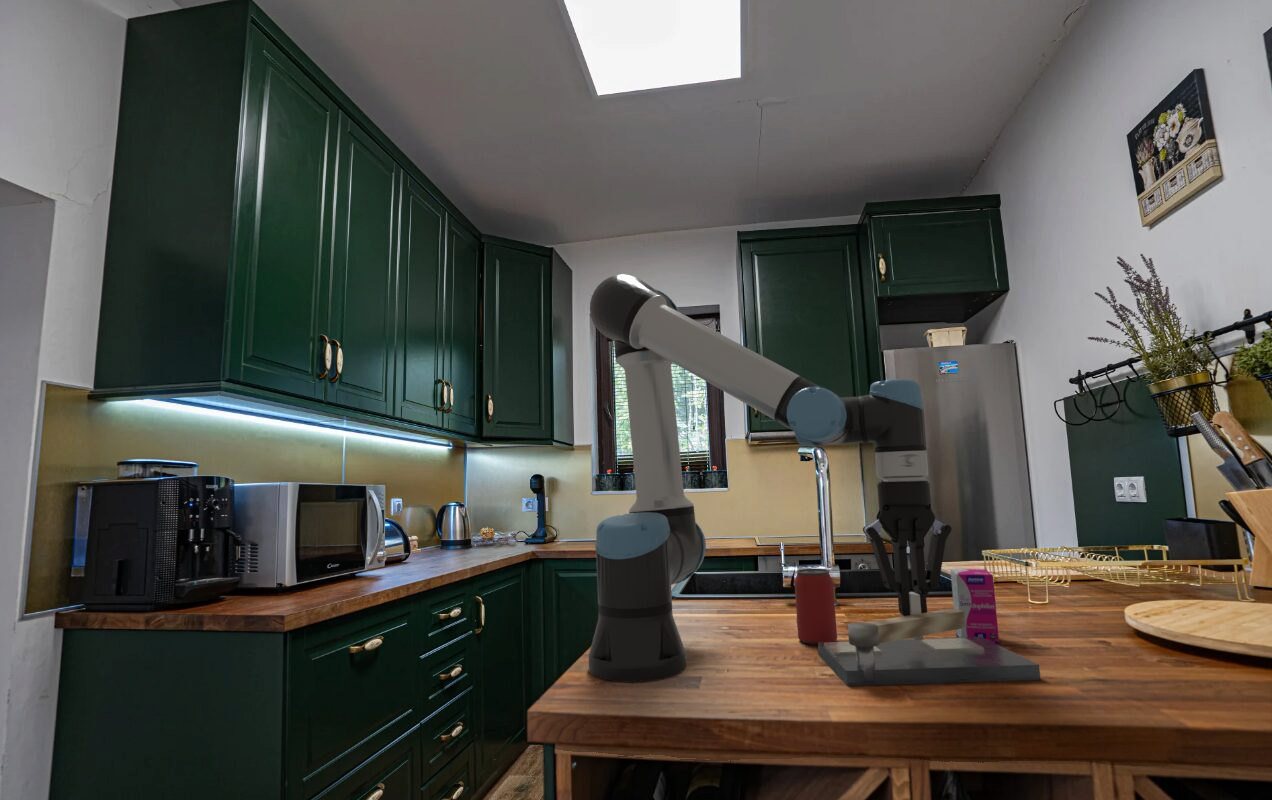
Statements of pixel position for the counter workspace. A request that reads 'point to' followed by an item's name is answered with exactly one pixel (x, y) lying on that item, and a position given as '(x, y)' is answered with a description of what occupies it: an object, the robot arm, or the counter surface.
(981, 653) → the board
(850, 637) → the rail
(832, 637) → the beer can
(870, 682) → the post
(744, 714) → the counter surface
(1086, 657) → the counter surface
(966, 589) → the supplement box
